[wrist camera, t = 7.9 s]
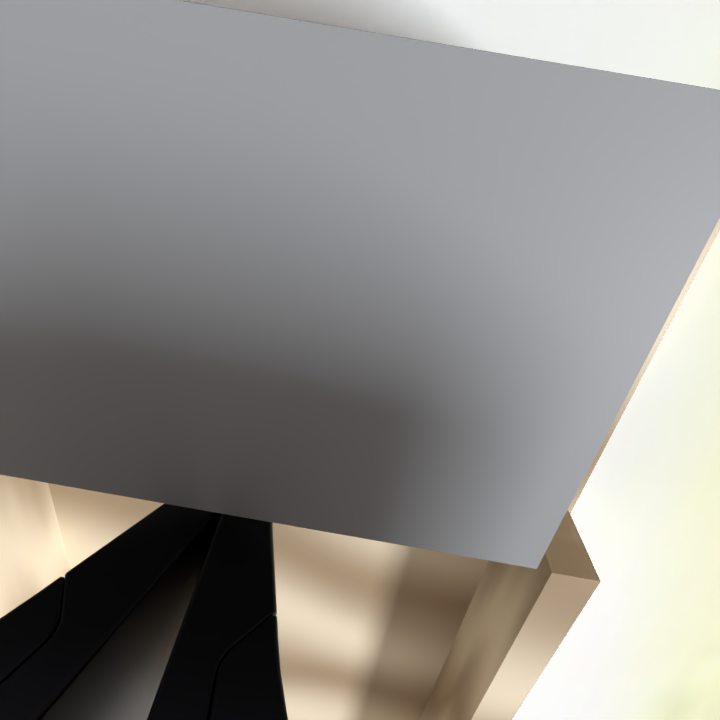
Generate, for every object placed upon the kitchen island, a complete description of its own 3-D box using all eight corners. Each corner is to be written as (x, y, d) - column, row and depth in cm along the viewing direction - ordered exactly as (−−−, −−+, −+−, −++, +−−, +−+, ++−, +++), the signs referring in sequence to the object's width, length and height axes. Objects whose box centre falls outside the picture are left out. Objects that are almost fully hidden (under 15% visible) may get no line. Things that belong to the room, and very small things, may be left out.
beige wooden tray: (435, 754, 19) (441, 852, 16) (77, 690, 19) (26, 777, 16) (743, 153, 8) (917, 158, 5) (-132, 7, 8) (-395, -59, 5)
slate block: (488, 415, 10) (536, 569, 6) (64, 341, 10) (-124, 453, 6) (591, 120, 7) (782, 99, 4) (1, 22, 7) (-389, -93, 4)
